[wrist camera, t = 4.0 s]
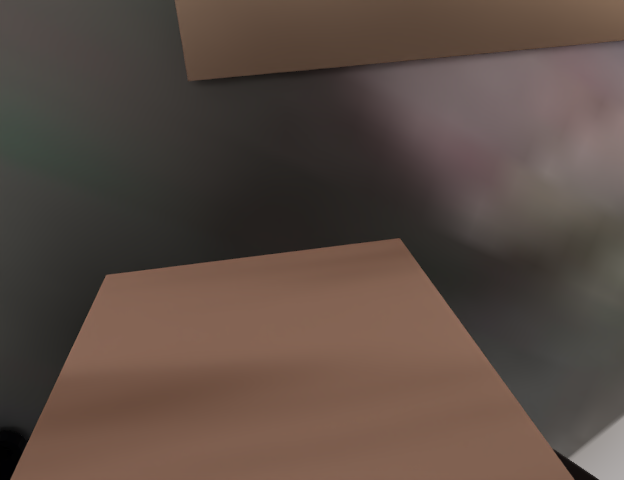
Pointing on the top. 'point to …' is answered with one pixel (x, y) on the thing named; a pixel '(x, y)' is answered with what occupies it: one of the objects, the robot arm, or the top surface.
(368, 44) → the tan square base
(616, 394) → the top surface
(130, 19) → the top surface
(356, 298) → the top block
